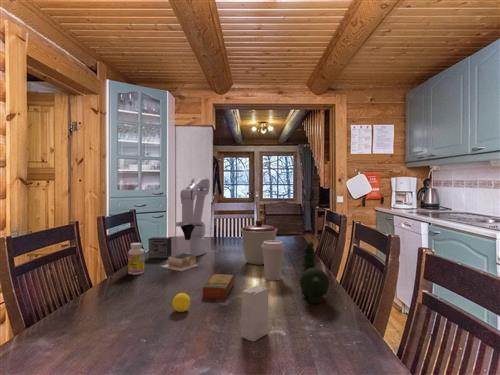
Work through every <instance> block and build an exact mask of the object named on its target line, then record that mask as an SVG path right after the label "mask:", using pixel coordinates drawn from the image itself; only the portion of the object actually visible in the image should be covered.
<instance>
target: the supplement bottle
mask: <svg viewBox="0 0 500 375" xmlns="http://www.w3.org/2000/svg"><path fill="white" fill-rule="evenodd" d="M142 247H143V244H142V242H132V243H130V249H129V250H128V252H127V259H128V260H127V261H128V262H127V264H128V265H127V266H128V267H127V268H128V270H127V272H128V275H131V274H132V275H133V276H137V275H141V274H144V273H145V249H143V248H142Z"/></svg>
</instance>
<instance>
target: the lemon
mask: <svg viewBox="0 0 500 375" xmlns="http://www.w3.org/2000/svg"><path fill="white" fill-rule="evenodd" d="M171 304H172V307H173V309H174V310H175V311H176V312H179V313H183V312H186V311H187V310H189V309H190V305H191V298H190V296H189V295H188V294H187V293H185V292H180V293H177V294H176V295H175V296H174V298H173V299H172V303H171Z"/></svg>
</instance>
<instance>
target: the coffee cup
mask: <svg viewBox="0 0 500 375" xmlns="http://www.w3.org/2000/svg"><path fill="white" fill-rule="evenodd" d="M261 247H262V248H263V259H264V265H263V269H264V280H266V279H267V280H266V281H269V280H278V279H280V280H281V279H282V269H283V260H284V259H283V257H284V249H285V244H284V242H283V241H281V240H277V239H275V240H269V241H264V242H263V244H262V246H261ZM278 281H279V280H278Z"/></svg>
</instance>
